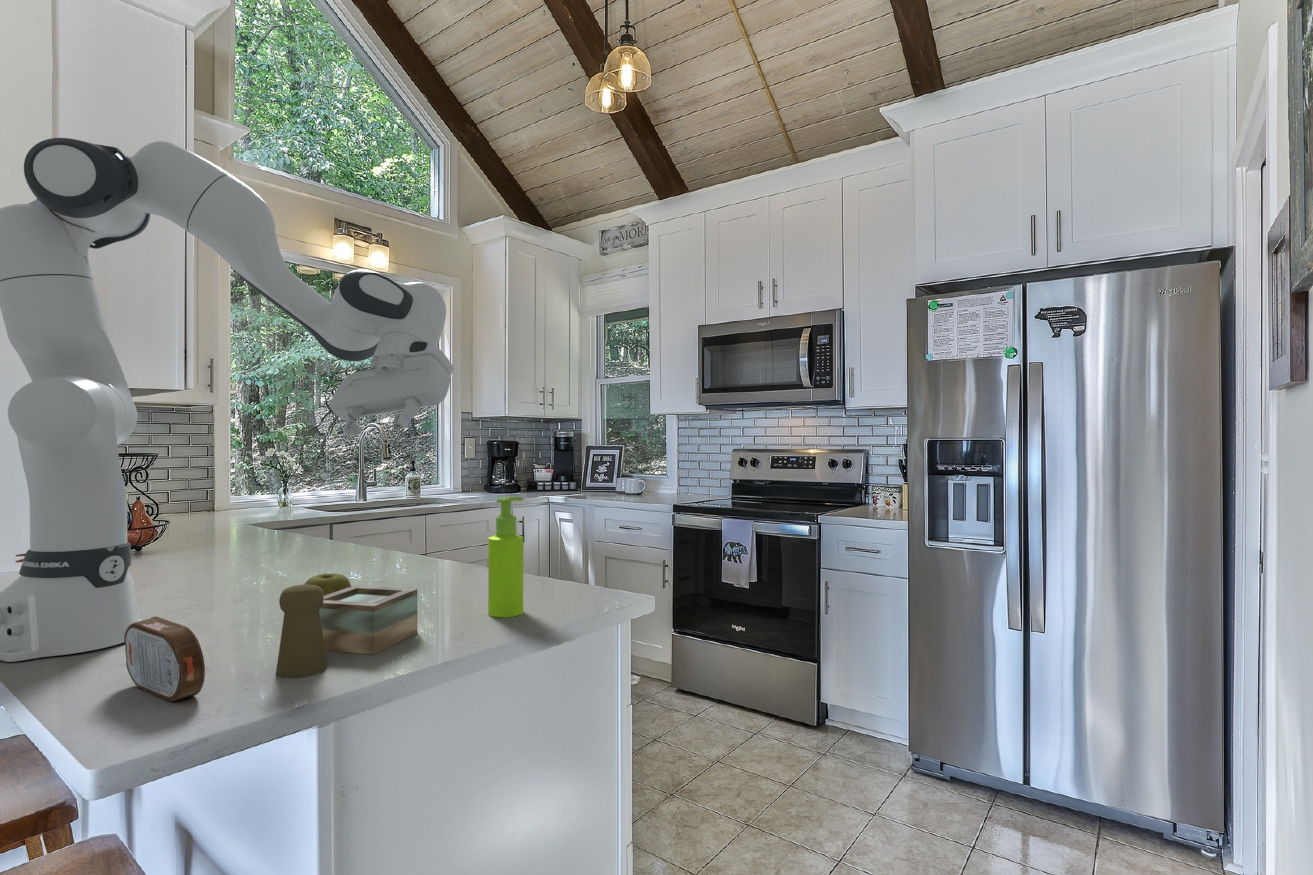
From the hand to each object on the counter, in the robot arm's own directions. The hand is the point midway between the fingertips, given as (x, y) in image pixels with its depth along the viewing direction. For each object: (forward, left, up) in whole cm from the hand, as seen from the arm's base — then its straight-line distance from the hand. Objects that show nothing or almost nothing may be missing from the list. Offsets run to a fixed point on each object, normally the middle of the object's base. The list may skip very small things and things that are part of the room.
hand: (374, 430), depth 107 cm
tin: (-10, -27, -32) cm, 43 cm away
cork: (+1, -17, -32) cm, 36 cm away
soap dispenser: (+15, +16, -32) cm, 38 cm away
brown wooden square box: (+1, -4, -31) cm, 32 cm away
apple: (-13, +6, -32) cm, 35 cm away
